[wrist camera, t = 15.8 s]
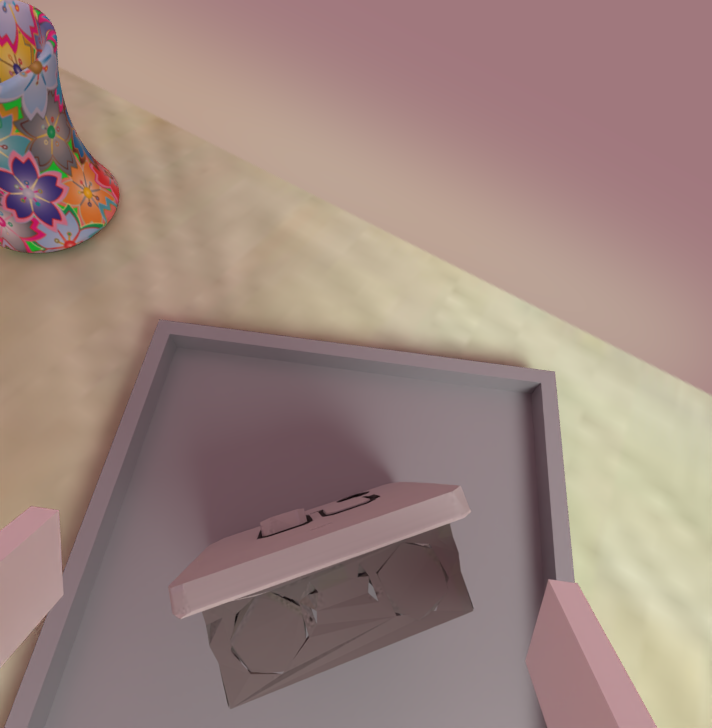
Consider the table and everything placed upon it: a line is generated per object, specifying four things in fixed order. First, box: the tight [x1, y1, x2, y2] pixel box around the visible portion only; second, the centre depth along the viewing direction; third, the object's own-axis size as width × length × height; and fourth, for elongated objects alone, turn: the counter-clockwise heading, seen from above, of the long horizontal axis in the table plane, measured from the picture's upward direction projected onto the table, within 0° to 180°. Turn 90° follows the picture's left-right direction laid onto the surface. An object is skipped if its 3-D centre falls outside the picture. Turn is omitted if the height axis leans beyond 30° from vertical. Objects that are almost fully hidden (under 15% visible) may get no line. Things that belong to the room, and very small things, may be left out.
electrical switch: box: [168, 482, 474, 709], centre depth 18 cm, size 9×5×9 cm, turn 109°
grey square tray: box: [4, 319, 575, 728], centre depth 22 cm, size 22×22×2 cm
